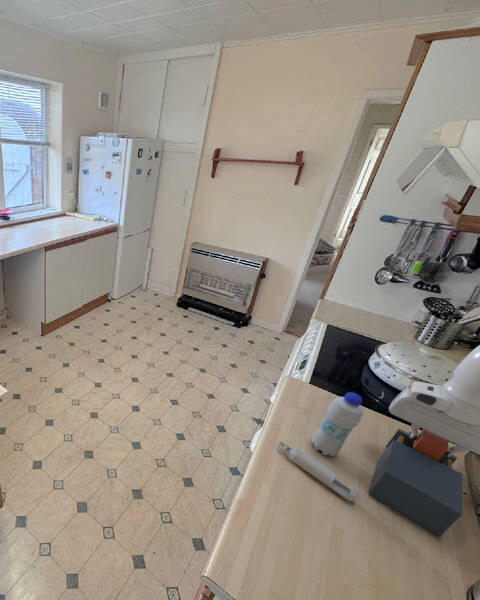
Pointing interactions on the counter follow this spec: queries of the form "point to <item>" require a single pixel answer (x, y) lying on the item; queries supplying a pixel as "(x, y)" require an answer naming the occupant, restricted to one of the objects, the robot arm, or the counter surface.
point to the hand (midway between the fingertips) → (428, 446)
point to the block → (431, 445)
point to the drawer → (406, 440)
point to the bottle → (338, 424)
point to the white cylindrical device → (320, 472)
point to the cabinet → (418, 488)
